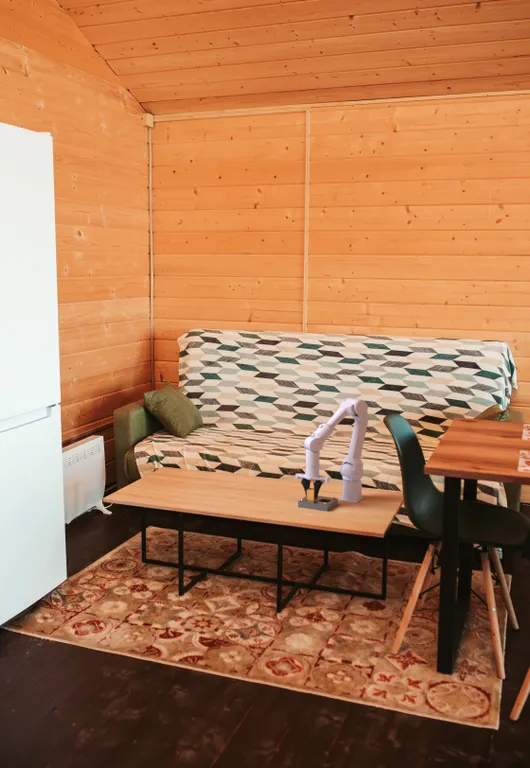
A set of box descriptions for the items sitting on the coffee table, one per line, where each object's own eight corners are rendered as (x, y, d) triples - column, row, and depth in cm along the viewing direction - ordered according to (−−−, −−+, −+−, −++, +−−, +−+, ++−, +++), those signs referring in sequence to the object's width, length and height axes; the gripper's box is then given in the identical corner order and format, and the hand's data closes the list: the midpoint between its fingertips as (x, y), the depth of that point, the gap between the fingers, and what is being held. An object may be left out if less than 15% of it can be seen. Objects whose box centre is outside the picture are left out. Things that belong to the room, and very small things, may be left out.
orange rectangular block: (309, 502, 327) (309, 487, 326) (316, 503, 325) (316, 488, 324) (306, 504, 324) (306, 489, 323) (313, 505, 322) (313, 490, 322)
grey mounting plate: (309, 500, 331) (309, 493, 331) (337, 504, 326) (338, 497, 325) (298, 506, 321) (298, 499, 320) (327, 511, 315) (327, 504, 315)
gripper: (292, 465, 322) (291, 497, 324) (324, 469, 316) (324, 501, 317) (299, 462, 328) (298, 493, 330) (331, 466, 322) (330, 497, 324)
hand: (311, 497), depth 324 cm, fingers closed on orange rectangular block, 3 cm apart
